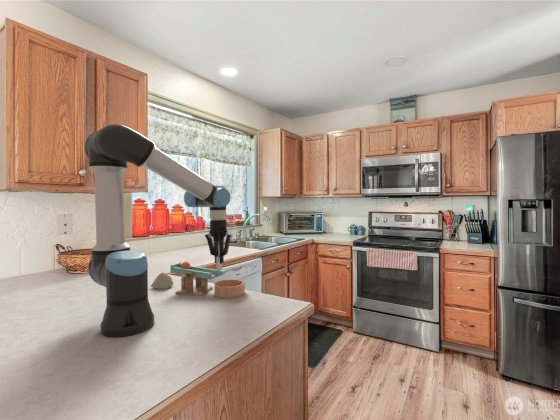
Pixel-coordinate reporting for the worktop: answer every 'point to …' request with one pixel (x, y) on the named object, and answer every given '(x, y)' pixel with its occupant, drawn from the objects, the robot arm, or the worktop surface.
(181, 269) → the lever
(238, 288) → the bowl
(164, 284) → the seashell
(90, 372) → the worktop surface
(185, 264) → the ball
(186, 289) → the stand
